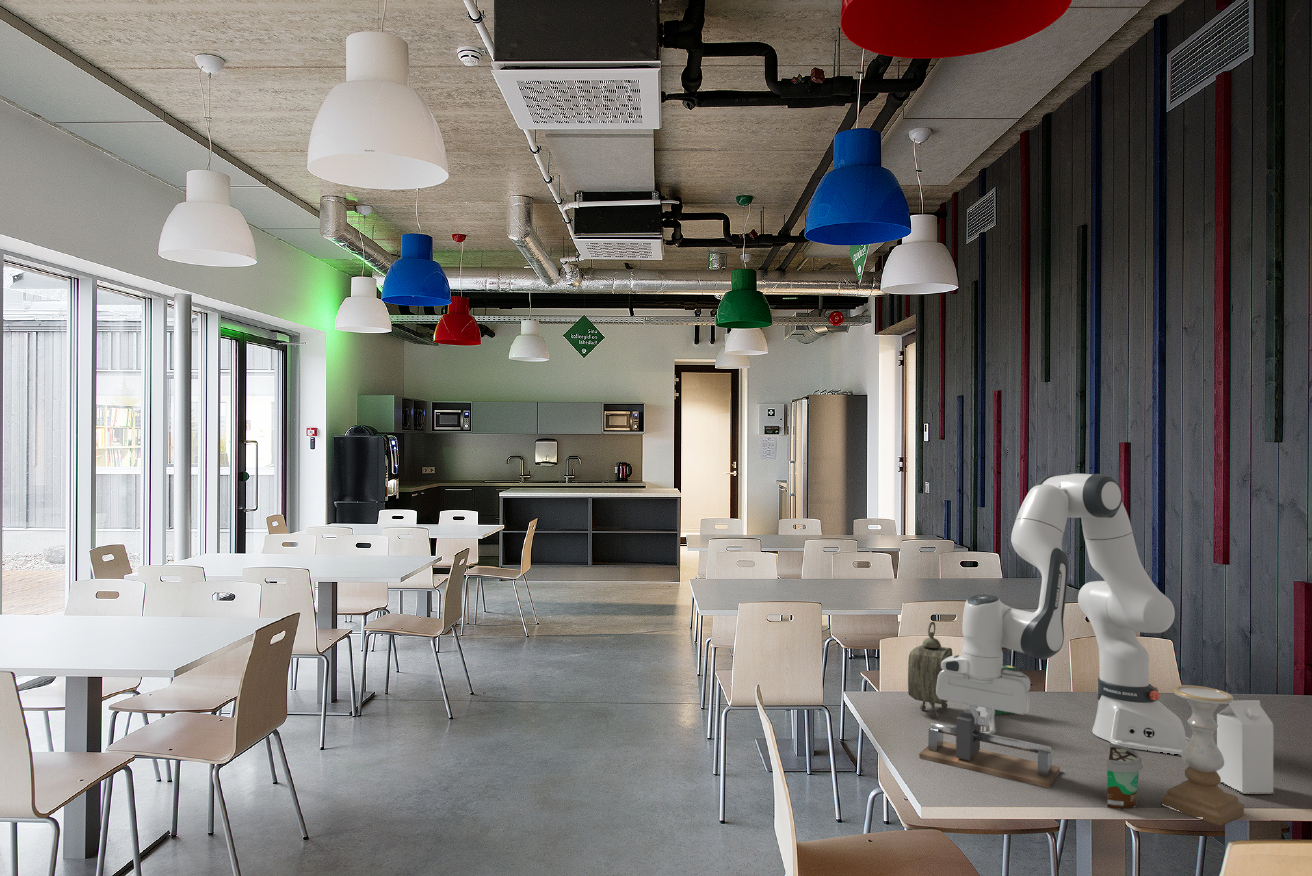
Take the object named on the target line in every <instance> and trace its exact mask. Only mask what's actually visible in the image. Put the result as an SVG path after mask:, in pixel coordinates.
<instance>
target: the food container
mask: <svg viewBox="0 0 1312 876" xmlns="http://www.w3.org/2000/svg"><path fill="white" fill-rule="evenodd" d="M1106 761H1107V763H1106V771H1107V772H1106V774H1107V777H1106V779H1107V780H1106V781H1107V782H1106V783H1107V784H1106V785H1107V786H1106V788H1107V789H1106V790H1107V792H1106V793H1107V794H1106V795H1107V796H1106V799H1107V806H1106V807H1107V808H1108V809H1115V810H1131V809H1134V808H1135V807H1136V806H1137V801H1138V800H1137V799H1138V789H1139V788H1138V787H1139V774H1140V771H1142V770H1143V769H1144V766H1143V762H1142V758H1141V757H1140V754H1139V753H1138V752H1137V751H1135V750H1133V749H1132V748H1127V747H1124V746H1120V745H1116V744H1112V743H1111V742H1110V743H1109V755H1108V758H1107V759H1106ZM1134 806H1135V807H1134ZM1133 807H1134V808H1133Z"/></svg>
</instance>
